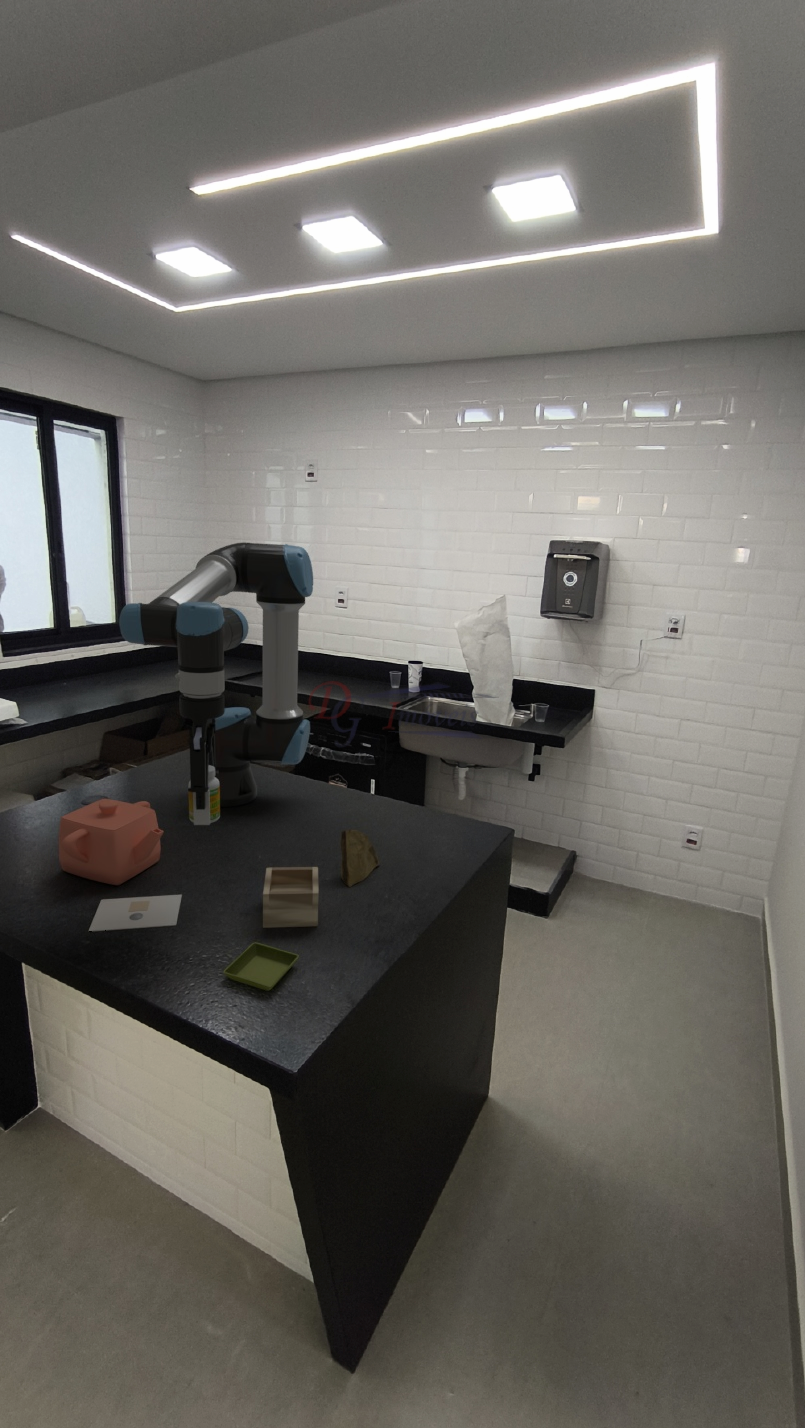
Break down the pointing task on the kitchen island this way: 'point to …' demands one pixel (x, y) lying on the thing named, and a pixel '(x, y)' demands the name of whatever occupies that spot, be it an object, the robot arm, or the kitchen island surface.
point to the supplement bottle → (214, 796)
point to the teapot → (109, 840)
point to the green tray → (261, 966)
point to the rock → (356, 857)
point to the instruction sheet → (136, 913)
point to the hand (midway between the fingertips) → (204, 816)
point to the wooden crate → (290, 897)
